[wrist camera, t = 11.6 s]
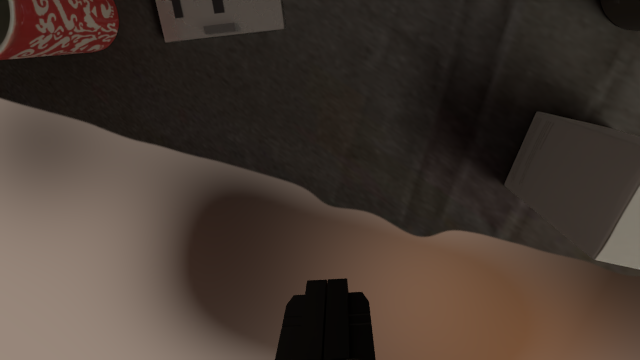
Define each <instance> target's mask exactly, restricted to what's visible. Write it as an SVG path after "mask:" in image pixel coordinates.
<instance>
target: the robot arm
mask: <svg viewBox="0 0 640 360" xmlns="http://www.w3.org/2000/svg"><path fill="white" fill-rule="evenodd" d="M600 1H601V5H602V8H603V10H604V13H605V14H606V16H607V17H608V18H609V19H610V21H611V22H613V23H614V24H616V25H617V26H618V27H621V28H624V29H626V30H633V31H640V0H600ZM275 360H375V351H374V343H373V334H372V325H371V316H370V307H369V301H368V300H367V298H366V297H365V296H364V294H363V293H362V292H352V293H348V284H347V279H329V280H328V284H327V280H311V281H307V285H306V292H305V295H294V296H293V297H292V299H291V300H290V301H289V303H288V304H287V306H286V310H285V314H284V319H283V324H282V329H281V334H280V338H279V343H278V348H277V353H276V358H275Z"/></svg>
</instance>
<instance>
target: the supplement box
mask: <svg viewBox="0 0 640 360" xmlns="http://www.w3.org/2000/svg"><path fill="white" fill-rule="evenodd" d="M504 186H505V187H507V188H508V189H509V190H510V191H512V192H513V193H514V194H515V195H516V196H518V197H519V198H520V199H521V200H522V201H524V202H525V203H526V204H527V205H528V206H530V207H531V208H532V209H533V210H534V211H536V212H537V213H538V214H539V215H540V216H542V217H543V218H544V219H545V220H546V221H548V222H549V223H550V224H551V225H552V226H554V227H555V228H556V229H557V230H558V231H560V232H561V233H562V234H563V235H564V236H566V237H567V238H568V239H569V240H570V241H572V242H573V243H574V244H575V245H577V246H578V247H579V248H580V249H581V250H583V251H584V252H585V253H586V254H588V255H589V256H590V257H591V258H592V259H594V260H598V261H603V262H607V263H612V264H617V265H621V266H626V267H631V268H635V269H640V136H636V135H633V134H629V133H626V132H623V131H619V130H616V129H612V128H608V127H604V126H600V125H595V124H591V123H587V122H582V121H578V120H574V119H570V118H565V117H561V116H557V115H552V114H548V113H543V112H536V114H535V116H534V118H533V120H532V123H531V125H530V127H529V129H528V132H527V134H526V136H525V138H524V141H523V143H522V145H521V147H520V150H519V152H518V154H517V157H516V159H515V161H514V163H513V165H512V168H511V170H510V172H509V174H508V177H507V179H506V181H505V184H504Z"/></svg>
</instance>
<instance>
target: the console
mask: <svg viewBox="0 0 640 360" xmlns="http://www.w3.org/2000/svg"><path fill="white" fill-rule="evenodd" d="M155 1H156V5H157V10H158V14H159V18H160V22H161V26H162V30H163V35H164V39H165V42H171V43H173V42H181V41H190V40H199V39H208V38H217V37H226V36H234V35H243V34H252V33H261V32H270V31H279V30H286V22H285V14H284V5H283V0H155Z"/></svg>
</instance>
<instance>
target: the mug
mask: <svg viewBox="0 0 640 360" xmlns="http://www.w3.org/2000/svg"><path fill="white" fill-rule="evenodd" d="M118 27H119V18H118V12H117V8H116V5H115V3H114V1H113V0H0V60H6V59H19V58H31V57H41V56H52V55H65V54H76V53H91V52H97V51H100V50H103V49H105V48H107V47H108V46H109V45H110V44H111V43H112V42H113V40H114V39H115V37H116V35H117V32H118Z"/></svg>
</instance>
